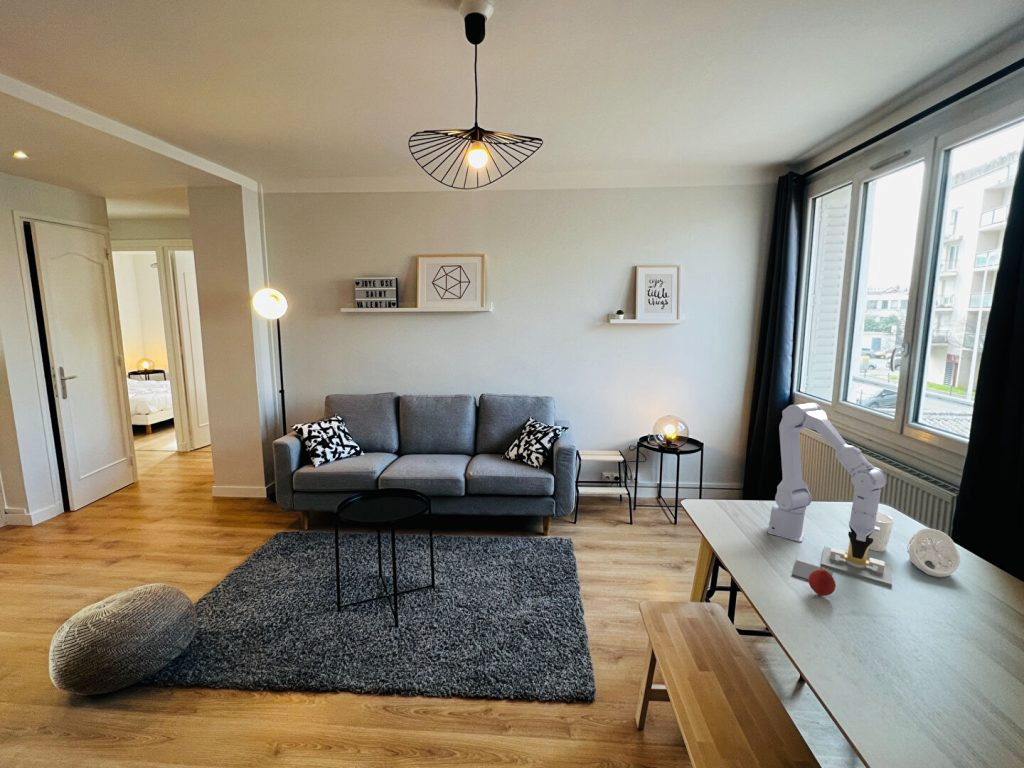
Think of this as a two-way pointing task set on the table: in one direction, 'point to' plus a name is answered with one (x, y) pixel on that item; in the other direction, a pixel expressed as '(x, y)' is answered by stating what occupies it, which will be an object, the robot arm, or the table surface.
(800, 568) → the mat
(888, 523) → the white cup
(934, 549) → the skull bowl
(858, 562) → the yellow rounded piece
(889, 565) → the post base
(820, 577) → the onion
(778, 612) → the table surface
